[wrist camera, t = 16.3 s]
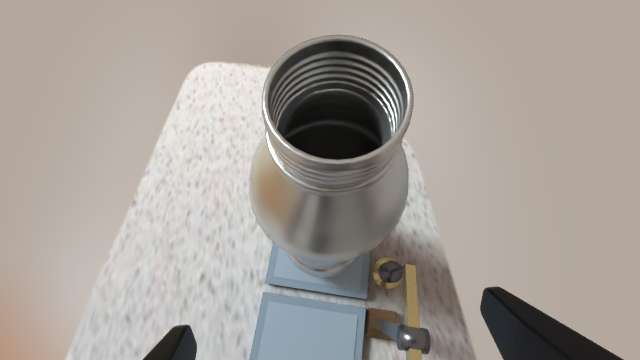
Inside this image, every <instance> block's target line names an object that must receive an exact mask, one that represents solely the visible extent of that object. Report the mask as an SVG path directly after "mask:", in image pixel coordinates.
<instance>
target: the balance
mask: <svg viewBox="0 0 640 360" xmlns="http://www.w3.org/2000/svg"><path fill="white" fill-rule="evenodd" d="M372 275H373V279H374V281H375V282H376V283H377V284H378V285H379V286H380V287H382V288H385V289H392V288H395V287H397V286H398V285H399V284H400V283H401V281H402V279H403V286H404V312H405V325H401V324H399V323H396V322H395V314H396V312H393V311H388V310H381V309H375V308H369V307H368V318H367V330H366V335H367V336H371V337H377V338H383V339H389V340H395V341H397V347H398V349H399V350H403V351H406V360H422V355H421V354H428V353H429V350H430V335H429V331H428V330H427V329H425V328H420V325H419V311H418V296H417V281H416V266H415V265H409V264H405V265H404V266H402V267H401V265H400V263H399V262H398V261H397V260H395V259H393V258H390V257H383V258H381V259H379V260H377V261H376V262H375V264H374V266H373V268H372Z"/></svg>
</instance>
